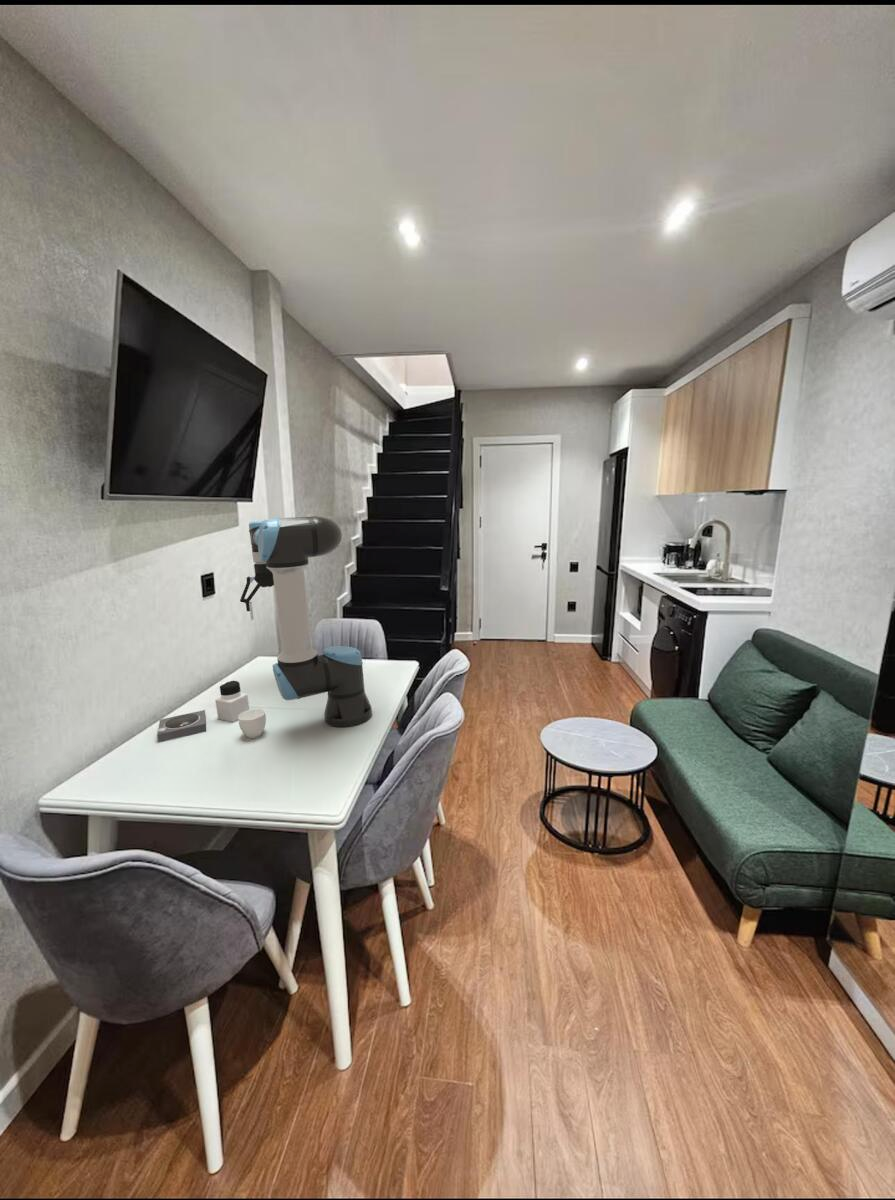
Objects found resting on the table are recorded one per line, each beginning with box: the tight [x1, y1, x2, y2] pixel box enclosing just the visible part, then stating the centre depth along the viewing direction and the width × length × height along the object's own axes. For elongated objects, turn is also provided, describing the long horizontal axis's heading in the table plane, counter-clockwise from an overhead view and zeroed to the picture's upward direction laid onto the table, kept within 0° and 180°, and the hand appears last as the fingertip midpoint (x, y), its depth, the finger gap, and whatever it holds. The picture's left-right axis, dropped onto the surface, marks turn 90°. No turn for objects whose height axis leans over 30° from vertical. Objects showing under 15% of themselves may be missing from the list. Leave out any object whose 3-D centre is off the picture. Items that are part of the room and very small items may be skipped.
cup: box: [237, 708, 267, 739], centre depth 145 cm, size 8×10×7 cm
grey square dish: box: [156, 709, 207, 743], centre depth 151 cm, size 12×13×3 cm
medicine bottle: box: [215, 680, 250, 723], centre depth 157 cm, size 7×7×12 cm
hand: (271, 617), depth 183 cm, fingers open, 13 cm apart
